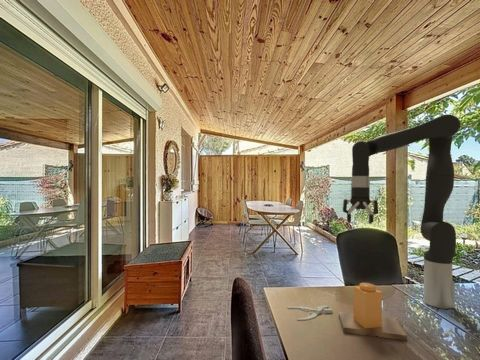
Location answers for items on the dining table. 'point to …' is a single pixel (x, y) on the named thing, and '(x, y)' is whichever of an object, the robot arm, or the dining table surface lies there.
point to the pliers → (317, 311)
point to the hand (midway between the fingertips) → (359, 222)
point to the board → (387, 330)
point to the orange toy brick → (367, 305)
